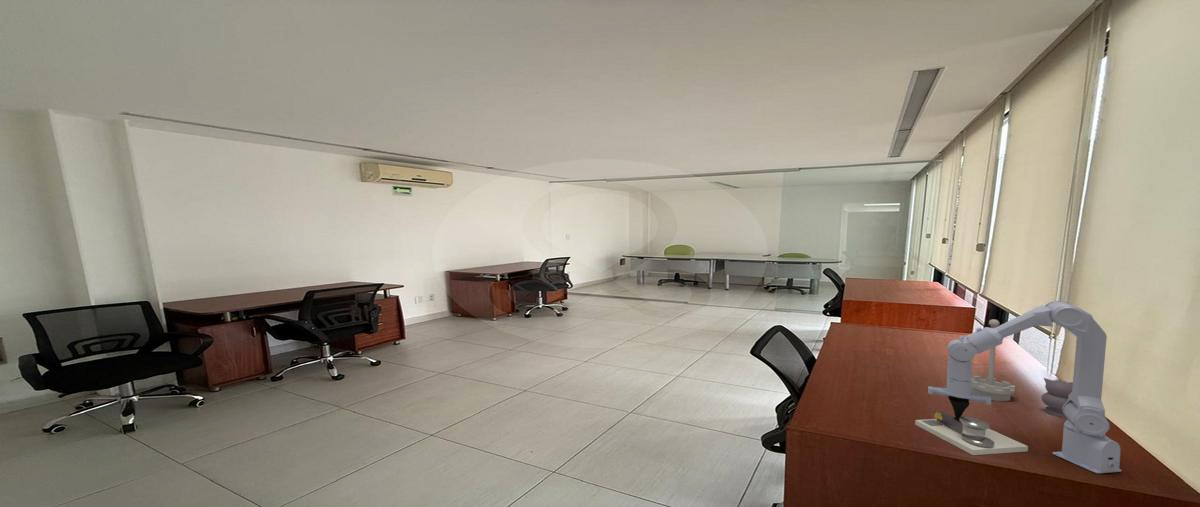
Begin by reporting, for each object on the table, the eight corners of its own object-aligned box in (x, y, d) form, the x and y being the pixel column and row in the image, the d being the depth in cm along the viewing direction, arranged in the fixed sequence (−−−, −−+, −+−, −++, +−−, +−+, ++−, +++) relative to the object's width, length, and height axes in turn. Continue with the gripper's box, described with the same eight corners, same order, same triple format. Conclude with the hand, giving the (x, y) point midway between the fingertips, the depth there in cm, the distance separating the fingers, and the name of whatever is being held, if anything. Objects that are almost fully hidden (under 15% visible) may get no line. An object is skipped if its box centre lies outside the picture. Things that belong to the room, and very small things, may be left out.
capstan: (1001, 446, 112) (1002, 429, 112) (978, 447, 112) (979, 430, 112) (946, 419, 129) (947, 403, 129) (926, 419, 129) (927, 404, 128)
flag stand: (978, 386, 161) (982, 314, 160) (1021, 399, 149) (1026, 321, 148) (959, 391, 157) (963, 317, 155) (1002, 404, 144) (1007, 324, 143)
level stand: (1027, 451, 113) (1028, 445, 113) (973, 455, 111) (973, 449, 111) (963, 421, 131) (963, 416, 131) (915, 424, 129) (915, 419, 129)
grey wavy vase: (1044, 415, 136) (1046, 381, 135) (1037, 407, 142) (1039, 374, 142) (1082, 422, 131) (1084, 387, 130) (1072, 413, 137) (1075, 379, 137)
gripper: (988, 379, 122) (986, 422, 123) (927, 370, 131) (926, 410, 131) (993, 386, 116) (991, 431, 117) (930, 376, 125) (928, 418, 125)
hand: (957, 420), depth 124 cm, fingers closed, pressing on capstan
